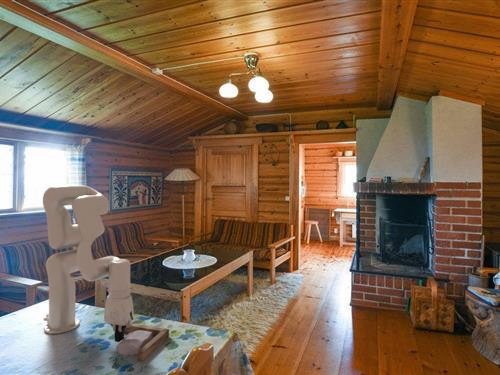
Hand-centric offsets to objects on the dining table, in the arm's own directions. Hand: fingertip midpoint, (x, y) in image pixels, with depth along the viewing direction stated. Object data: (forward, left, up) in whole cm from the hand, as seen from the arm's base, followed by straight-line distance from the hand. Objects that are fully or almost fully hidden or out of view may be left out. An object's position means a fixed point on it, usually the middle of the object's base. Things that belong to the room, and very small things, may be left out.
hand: (119, 340), depth 115 cm
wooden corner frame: (+3, +2, -1) cm, 4 cm away
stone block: (+6, 0, -2) cm, 7 cm away
